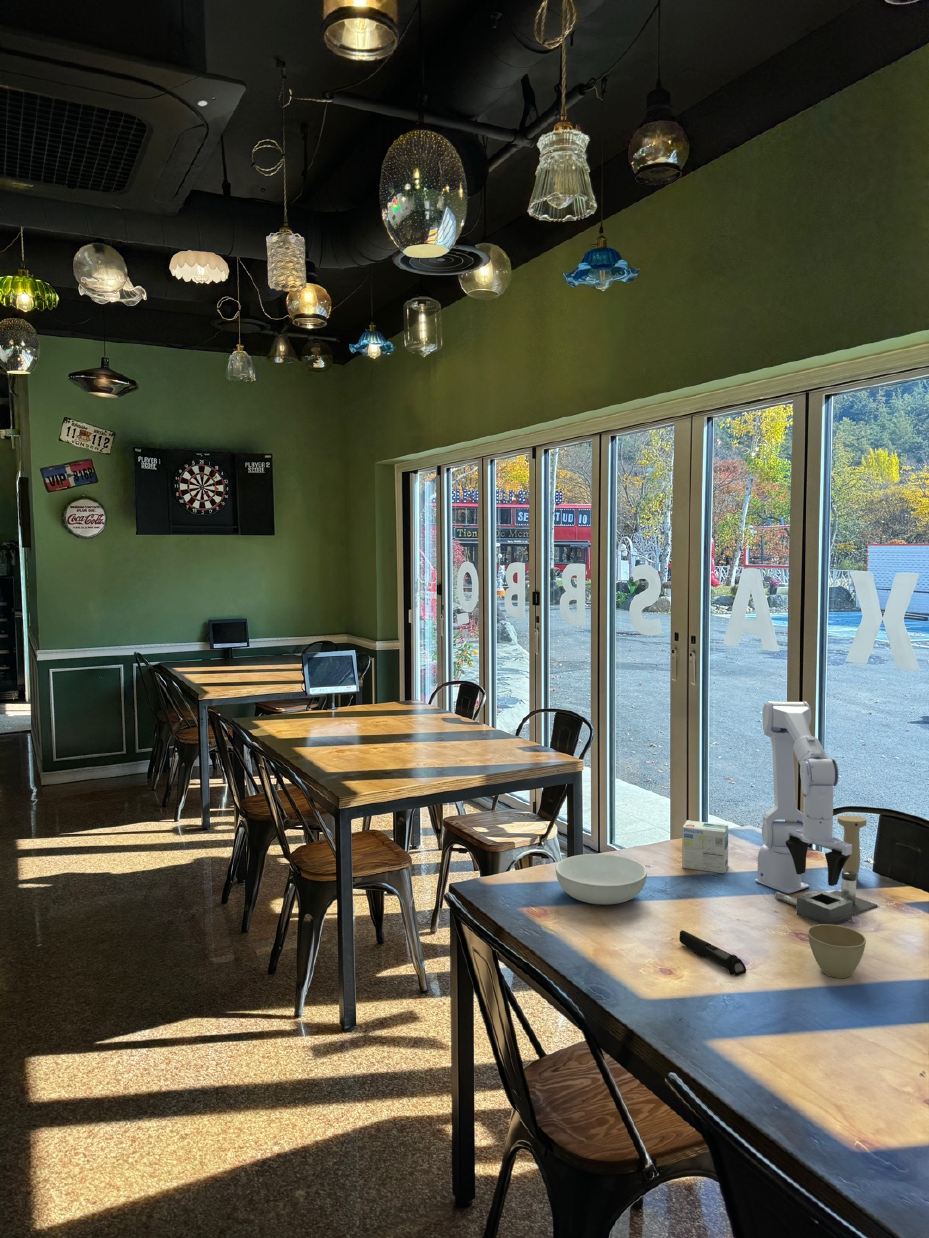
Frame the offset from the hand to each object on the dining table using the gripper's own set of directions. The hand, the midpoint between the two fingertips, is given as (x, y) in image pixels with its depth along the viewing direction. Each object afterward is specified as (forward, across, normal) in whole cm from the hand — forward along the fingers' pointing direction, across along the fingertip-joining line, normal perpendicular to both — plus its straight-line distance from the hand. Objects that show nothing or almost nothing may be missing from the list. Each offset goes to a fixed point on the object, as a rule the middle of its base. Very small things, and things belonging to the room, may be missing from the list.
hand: (816, 878), depth 176 cm
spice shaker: (+10, -3, +16) cm, 19 cm away
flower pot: (+11, +14, -14) cm, 22 cm away
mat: (+10, -4, +16) cm, 20 cm away
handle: (+11, -12, +31) cm, 35 cm away
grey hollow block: (+10, -6, +6) cm, 13 cm away
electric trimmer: (+11, -2, -30) cm, 32 cm away
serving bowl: (+11, -37, -27) cm, 47 cm away
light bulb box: (+11, -37, +8) cm, 39 cm away
